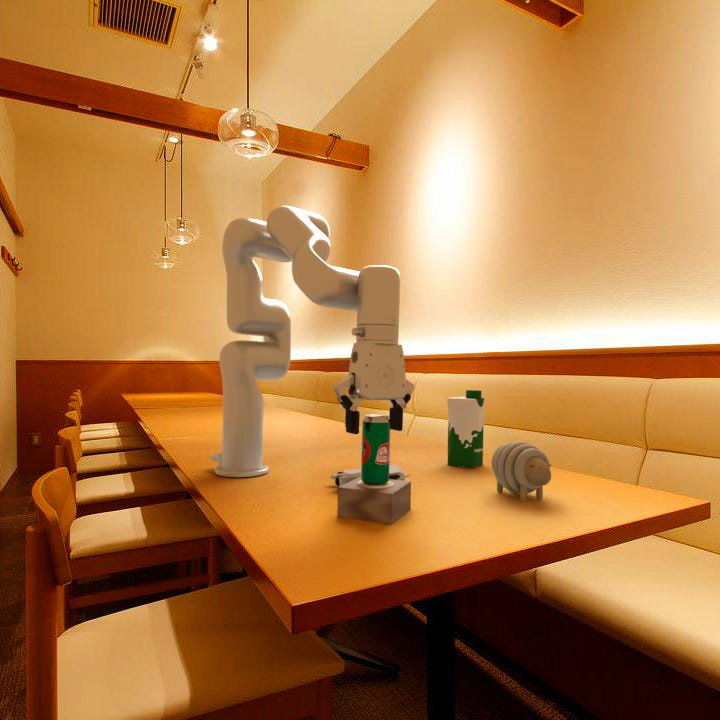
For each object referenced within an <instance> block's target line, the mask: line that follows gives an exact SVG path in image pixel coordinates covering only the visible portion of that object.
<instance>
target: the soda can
mask: <svg viewBox="0 0 720 720" xmlns="http://www.w3.org/2000/svg"><path fill="white" fill-rule="evenodd" d="M390 424H391V422H390V420H389V415H387V414H365V415H364V418H363V420H362V424H361V456H360V457H361V458H360V460H361V461H360V462H361V463H360V469H361V480H362V482H363V483H364V484H367V485H374V486H378V485H385V484H387V482H388V481H389V467H390V464H391V463H390V462H391V461H390V457H391V429H390Z"/></svg>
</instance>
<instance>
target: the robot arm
mask: <svg viewBox="0 0 720 720" xmlns="http://www.w3.org/2000/svg"><path fill="white" fill-rule="evenodd" d="M330 231H331V230H330V226H329V223H328V221H327V220H326V219H325V218H324V217H323V216H321V215H320V214H318V213H315V212H312V211H307V210H304V209H301V208H298V207H294V206H290V205H281V206H278V207H275V208H274V209H272V210H271V211H270V212H269V213H268V215H267V217H266V220H265V221H264V220H260V219H255V218H248V217H241V218H236V219H233V220H231V221H230V222H229V223H228V224H227V226H226V227H225V230H224V233H223V237H222V248H221V249H222V258H223V263H224V267H225V273H226V324H227V327H228V329H229V330H230V332H232V333H234V334H237V335H245V336H252V337H253V336H256V337H263V339H264V341H258V340H243V339H242V340H232V341H230V342H228V343H226V344H225V345H224V346H223V347H222V348H221V350H220V353H219V368H220V374H221V381H222V430H221V433H222V434H221V435H222V436H221V437H222V438H221V439H222V440H221V452H218V451H215V452H213V454H211V456H210V457H209V459H210V461H211V462H217V466H215V467H214V473H215V474H216V475H218V476H221V477H227V478H247V477H248V478H249V477H257V476H261V475H265V474H267V473H268V472H269V469H270V468H269V466H268V465H267V464H265V463H263V453H264V452H263V447H264V446H263V445H264V443H263V441H264V396H263V393H262V391H261V389H260V387H259V385H258V384H257V382H256V381H275V380H276V381H277V380H280V379H282V378H284V377H285V376H287V374H288V372H289V370H290V366H291V357H292V355H291V353H292V351H291V347H292V345H291V344H292V342H291V341H292V337H291V336H292V321H291V315H290V311H289V309H288V308H289V307H287V305H286V304H285V302H282V301H281V300H279V299H275V298H266V297H264V290H263V289H264V280H263V279H264V278H263V275H262V272H261V271H260V269H259V267H258V265H257V263H256V262H255V260H254V258H258V259H259V258H260V259H264V260H269V261H274V262H278V263H279V262H280V263H291V273H292V279H293V282H294V283H295V285H296V286H297V287H298V289H299V290H300V291H301V292H302V293H303V294H304V295H305V297H306V298H308V300H310V302H312V303H314V304H316V305H317V306H320V307H323V308H331V309H340V310H345V311H351V312H352V311H353V312H356V313H357V316H356V327H353V328H352V330H351V334H352V336H355V340H356V342H353V345H352V349H351V350H352V351H351V355H350V359H349V360H350V361H349V365H348V375H347V377H345V378H343V379H341V380H340V381H338V382H336V383H334V385H332V387H333V391H334V393H335V395H336V397H337V398H336V400H337V402H339V403H340V405H341V406H342V409H343V410H345V415H344V416H345V417H344V418H345V420H344V427H345V432H346V433H348V434H352V435H358V434H359V433H360V410H357V409H358V408H359V407H360V405H361V404H362V402H363V401H364V400H366V401H388V402H389V403H390V405H391V406H392V407H390V408H389V410H388V411H389V415H388V416H389V417H388V419H389V420H390V422H391V424H390V430H393V431H396V432H402V431H403V429H404V428H403V427H404V426H403V424H404V410H406V408H407V404H408V403H409V401H411V399H412V397H411V396H412V394H413V392H414V389H415V384H414V383H412V382H411V381H410V380H408V379H406V363H405V362H406V361H405V356H404V355H405V354H404V350H403V345H402V344H399V329H400V302H401V301H400V296H401V295H400V294H401V274H400V271H399V270H398V268H396V267H393V266H390V265H382V264H381V265H378V264H377V265H376V264H375V265H367V266H364V267H362V268H361V269H360V270H359V271H357V270H353V269H348V268H344V267H340V266H339V267H338V266H332V265H330V264H328V263H326V262H327V260H328V259H329V256H330V254H331V249H332V248H331V247H332V246H331V242H330V235H331V232H330ZM346 389H347V394H348V395H347V394H346Z"/></svg>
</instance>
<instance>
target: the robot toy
mask: <svg viewBox="0 0 720 720" xmlns="http://www.w3.org/2000/svg"><path fill="white" fill-rule="evenodd" d="M360 476H361V468H355V469H354V468H353V469H352V468H351V469H345V470H344V471H338V472H337V474H336V473H333V474H331V475H330V479H331V480H334V484H335V485H336V486H337V487H339V486H341V485H343V484H345V483H347V482H349V481H352V480H354V479H356V478H358V477H360ZM408 477H411V473H410V474H409V473H408V474H406V475H405V470H403V469H402V468H401V467H400V466H399V465H396V464H391V463H390V467H389V479H393V480H402V481H406V480H405V478H408Z"/></svg>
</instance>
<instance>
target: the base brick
mask: <svg viewBox="0 0 720 720" xmlns="http://www.w3.org/2000/svg"><path fill="white" fill-rule="evenodd" d="M411 495H412V481H410V480H409V481H408V480H405V481H402V480H393V479H389V481H388V482H387V484H385V485H378V486H374V485H367V484H364V483H363V482H362V480H361V476H360V477H358V478H356V479H354V480H352V481H349V482H347V483H345V484H343V485H341V486H337V514H336V515H337V517H343V518H349V519H353V520H361V521H369V522H376V523H381V524H388V525H393V524H394V523H395V522H397V520H399V519H401V517H402V516H404V515H405V514H406V513H408V512H409V511H410V510H411V504H412V503H411V502H412V501H411V500H412V499H411V498H412V496H411Z"/></svg>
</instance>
